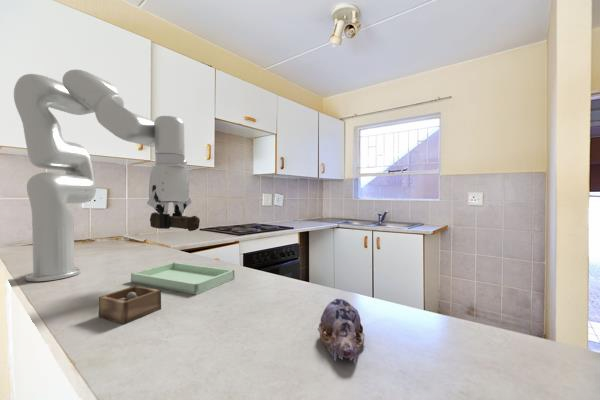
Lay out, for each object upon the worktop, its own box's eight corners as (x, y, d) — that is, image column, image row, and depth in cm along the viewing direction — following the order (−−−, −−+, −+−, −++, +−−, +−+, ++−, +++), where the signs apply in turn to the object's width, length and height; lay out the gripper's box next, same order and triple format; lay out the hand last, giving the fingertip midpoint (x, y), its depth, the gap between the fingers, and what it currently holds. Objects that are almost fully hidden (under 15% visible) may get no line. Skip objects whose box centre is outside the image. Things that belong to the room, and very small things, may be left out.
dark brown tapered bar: (200, 230, 75) (200, 212, 75) (188, 231, 72) (187, 213, 72) (159, 227, 85) (159, 211, 85) (146, 228, 82) (146, 212, 82)
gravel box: (98, 316, 56) (98, 295, 56) (136, 303, 63) (136, 284, 63) (124, 324, 53) (123, 301, 53) (161, 308, 60) (160, 288, 60)
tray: (131, 282, 79) (130, 273, 79) (174, 269, 92) (174, 262, 92) (196, 294, 69) (196, 284, 69) (234, 278, 82) (234, 270, 82)
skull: (366, 371, 39) (366, 327, 38) (311, 365, 40) (311, 323, 40) (363, 330, 50) (363, 296, 50) (321, 327, 52) (321, 294, 52)
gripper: (184, 165, 87) (185, 224, 87) (132, 159, 72) (134, 230, 73) (202, 164, 84) (203, 225, 84) (151, 157, 69) (153, 231, 69)
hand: (171, 227), depth 78 cm, fingers closed on dark brown tapered bar, 3 cm apart
